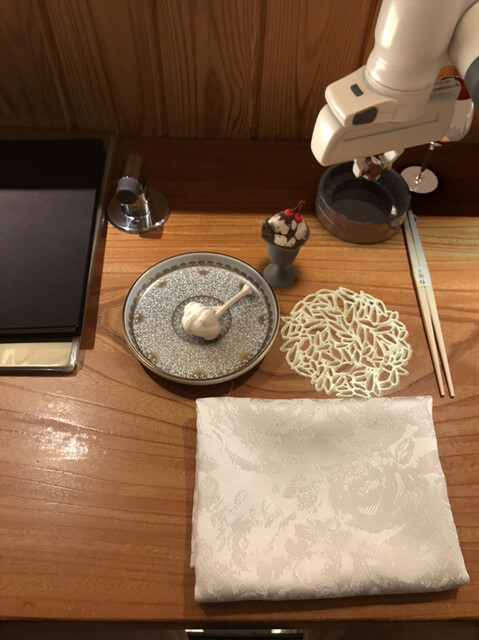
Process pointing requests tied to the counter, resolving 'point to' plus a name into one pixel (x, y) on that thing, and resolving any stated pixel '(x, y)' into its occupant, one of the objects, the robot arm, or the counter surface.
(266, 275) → the sundae
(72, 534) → the counter surface
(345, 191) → the bowl
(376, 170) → the chocolate
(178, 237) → the counter surface
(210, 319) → the garlic bulb
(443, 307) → the counter surface
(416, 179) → the wineglass
